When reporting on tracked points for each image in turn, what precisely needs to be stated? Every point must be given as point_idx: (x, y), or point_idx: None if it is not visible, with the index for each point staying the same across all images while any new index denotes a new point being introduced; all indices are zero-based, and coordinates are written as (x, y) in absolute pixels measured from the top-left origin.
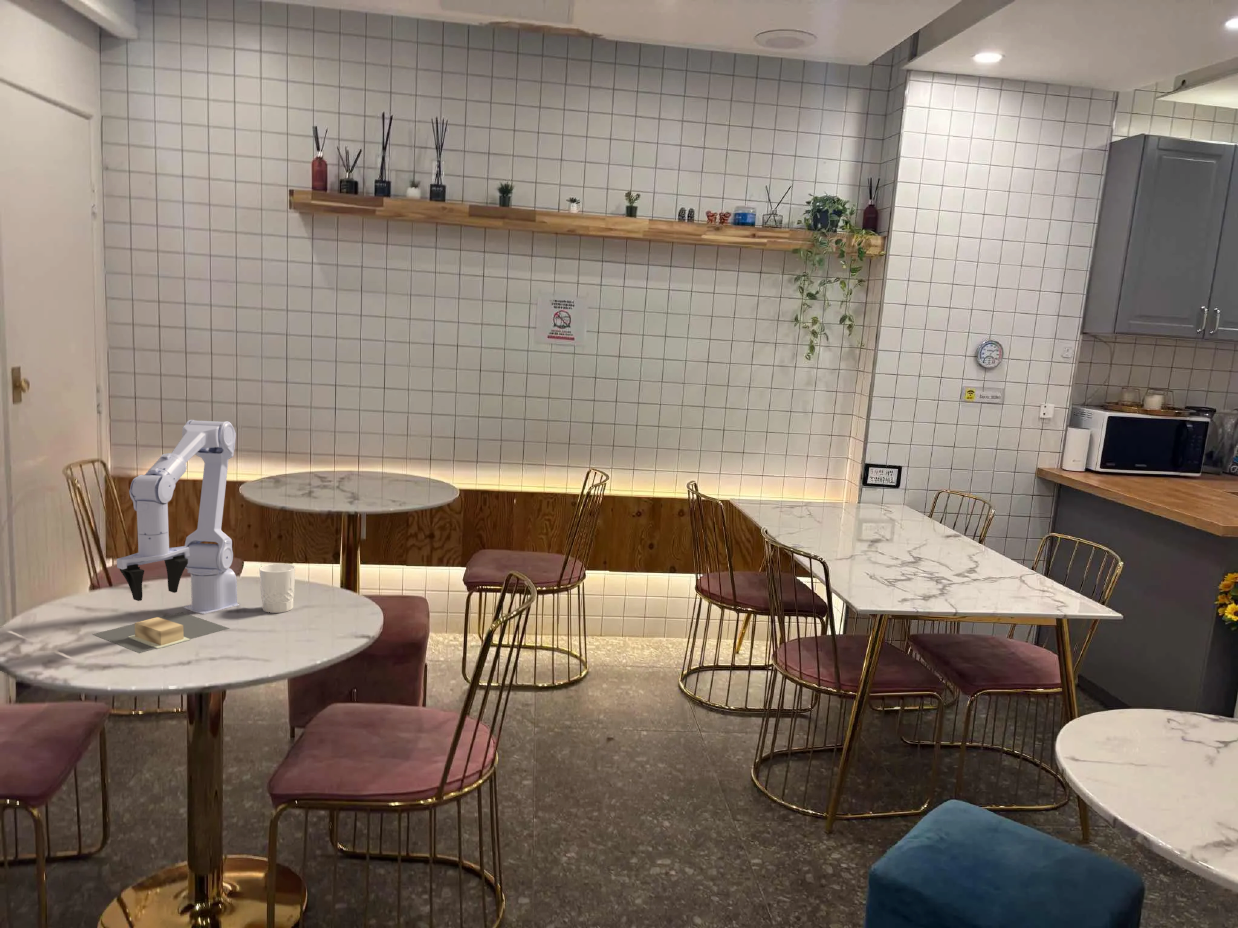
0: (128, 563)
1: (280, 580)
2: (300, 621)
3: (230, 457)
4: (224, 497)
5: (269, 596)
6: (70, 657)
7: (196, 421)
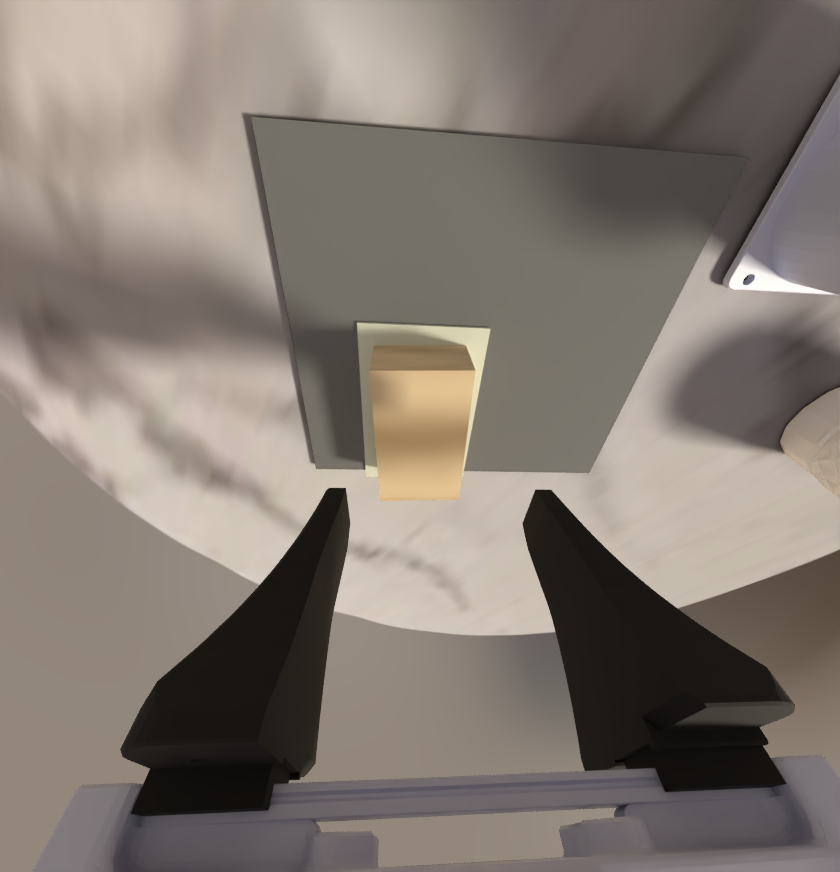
0: (179, 849)
1: None
2: (702, 524)
3: None
4: None
5: (834, 474)
6: (127, 341)
7: None
